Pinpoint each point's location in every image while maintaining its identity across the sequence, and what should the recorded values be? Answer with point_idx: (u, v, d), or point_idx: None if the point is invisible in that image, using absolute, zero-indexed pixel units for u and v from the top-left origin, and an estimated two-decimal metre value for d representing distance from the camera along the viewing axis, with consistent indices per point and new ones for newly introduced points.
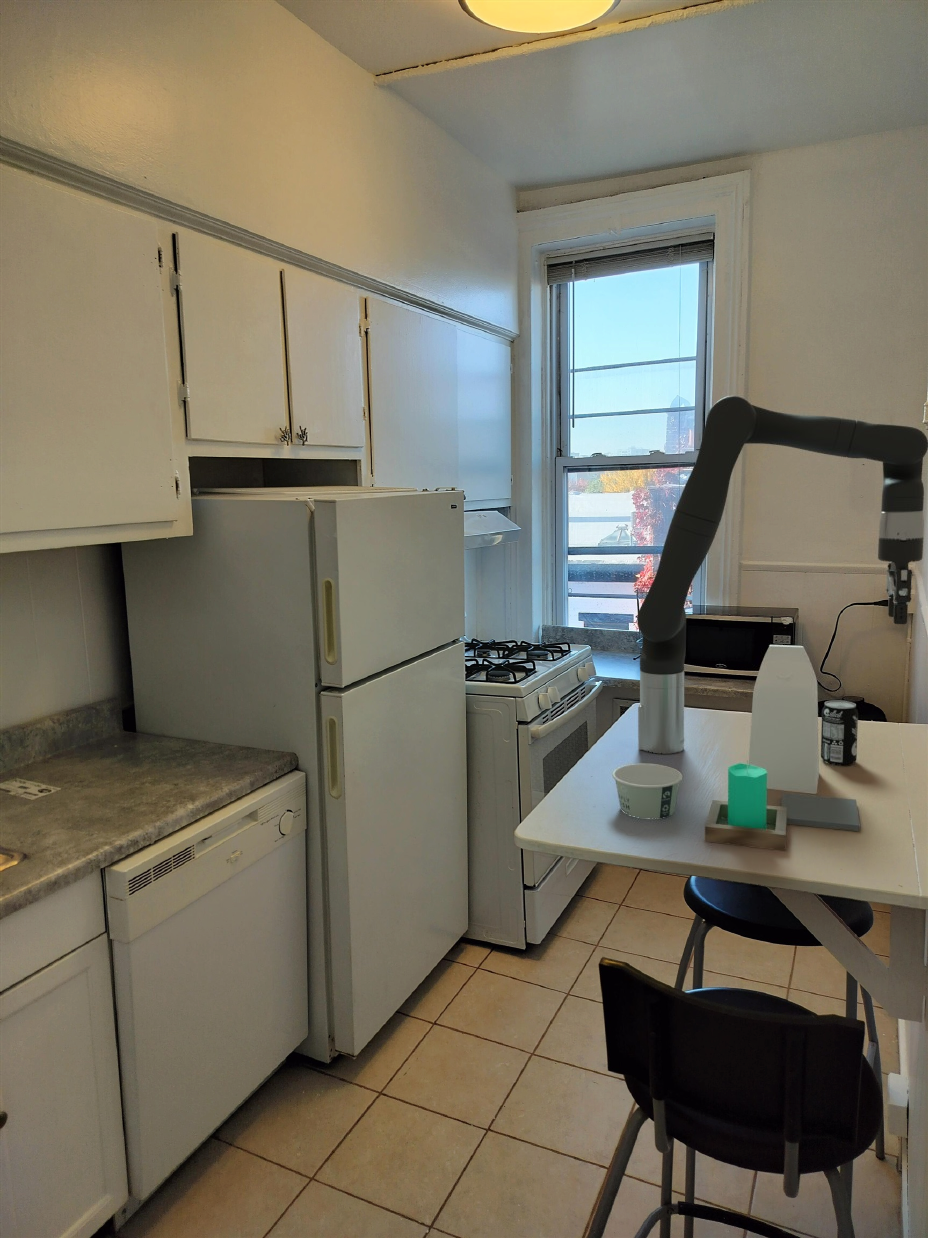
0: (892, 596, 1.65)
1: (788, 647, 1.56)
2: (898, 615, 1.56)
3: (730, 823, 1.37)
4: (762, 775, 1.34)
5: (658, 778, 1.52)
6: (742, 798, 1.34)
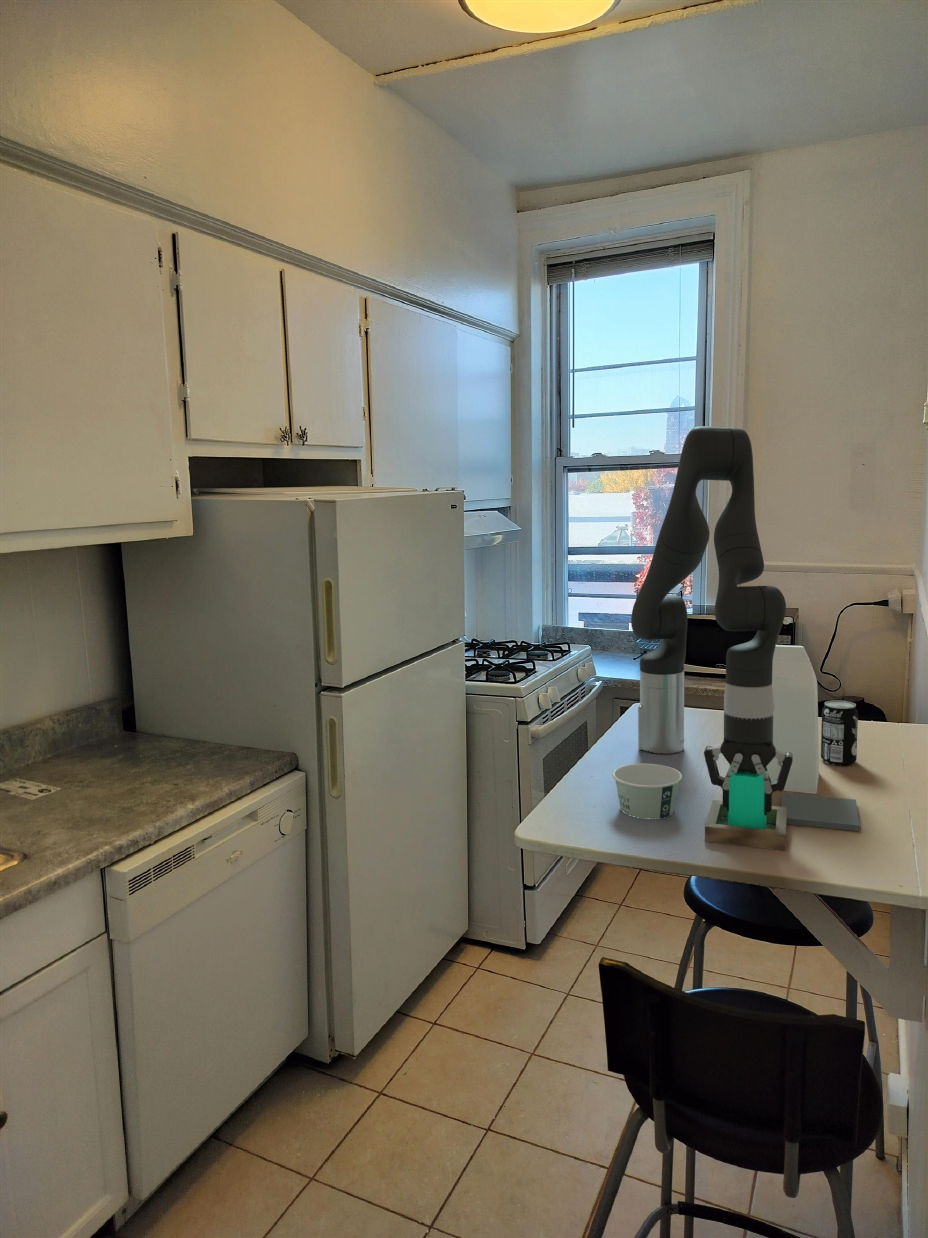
0: None
1: (788, 647, 1.56)
2: None
3: (730, 823, 1.37)
4: (762, 775, 1.34)
5: (658, 778, 1.52)
6: (742, 798, 1.34)
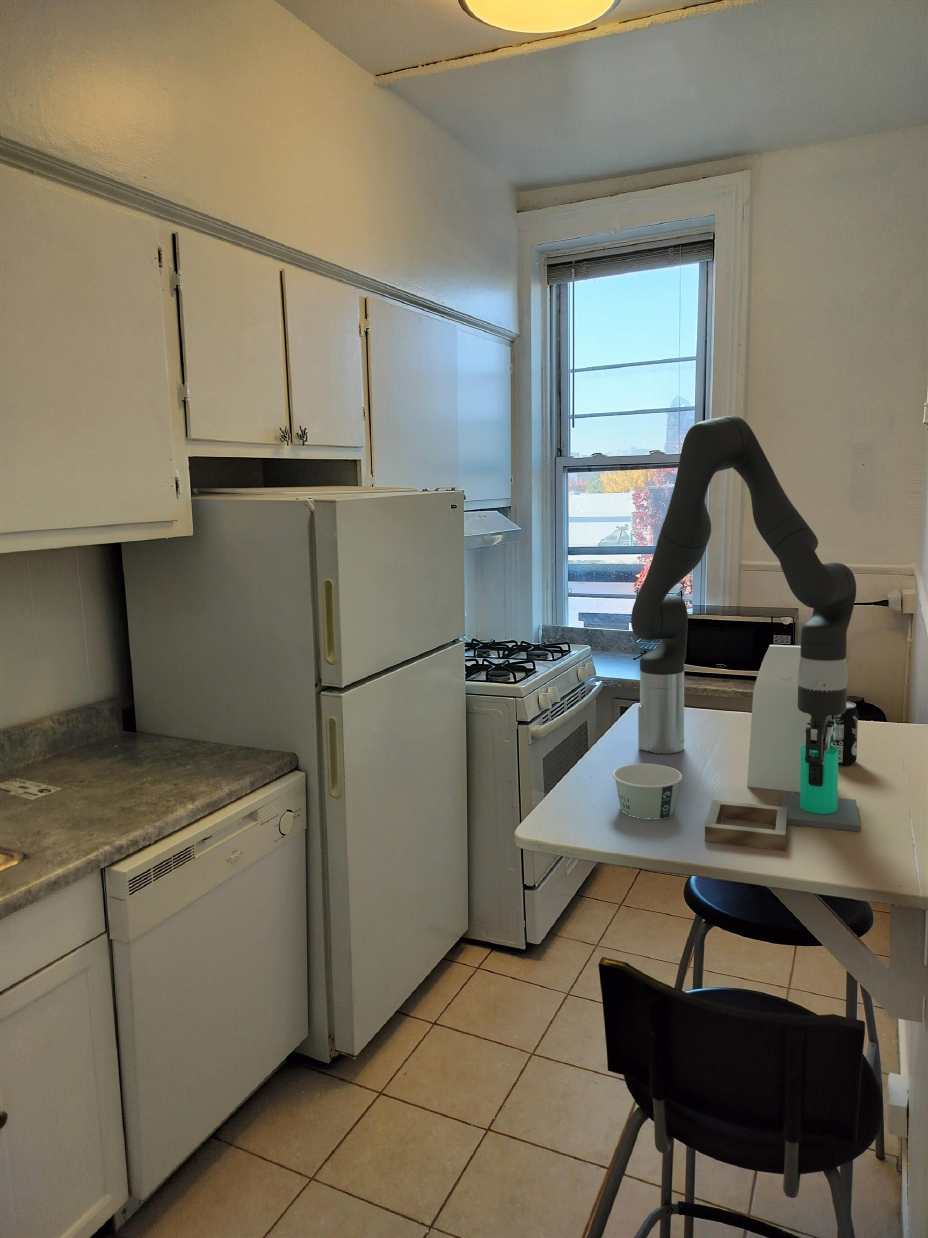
0: None
1: (788, 647, 1.56)
2: None
3: (826, 803, 1.40)
4: (832, 746, 1.43)
5: (658, 778, 1.52)
6: (836, 773, 1.41)
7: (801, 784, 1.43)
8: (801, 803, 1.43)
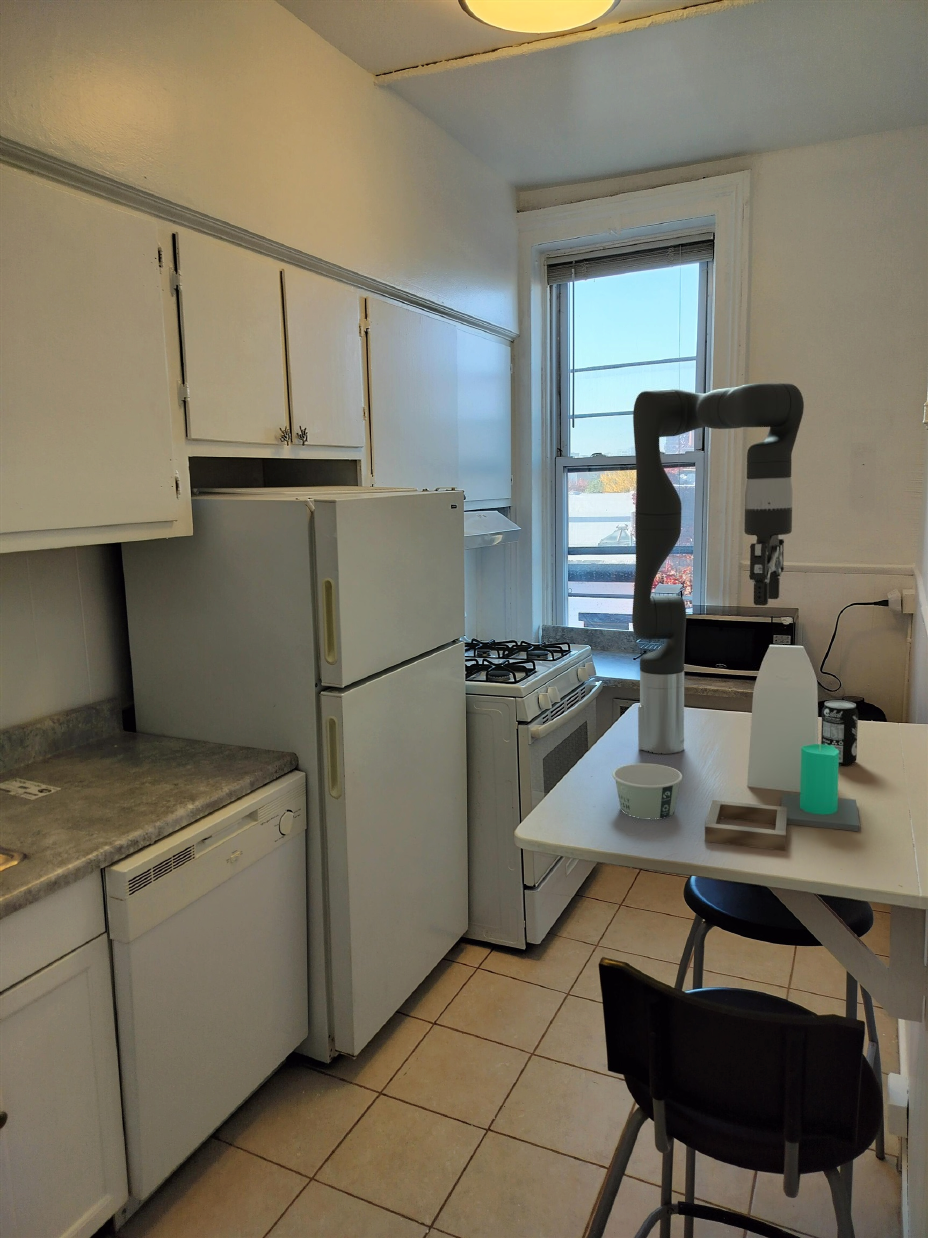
0: None
1: (788, 647, 1.56)
2: None
3: (826, 804, 1.40)
4: (833, 747, 1.43)
5: (658, 778, 1.52)
6: (837, 774, 1.41)
7: (801, 784, 1.43)
8: (801, 803, 1.43)
